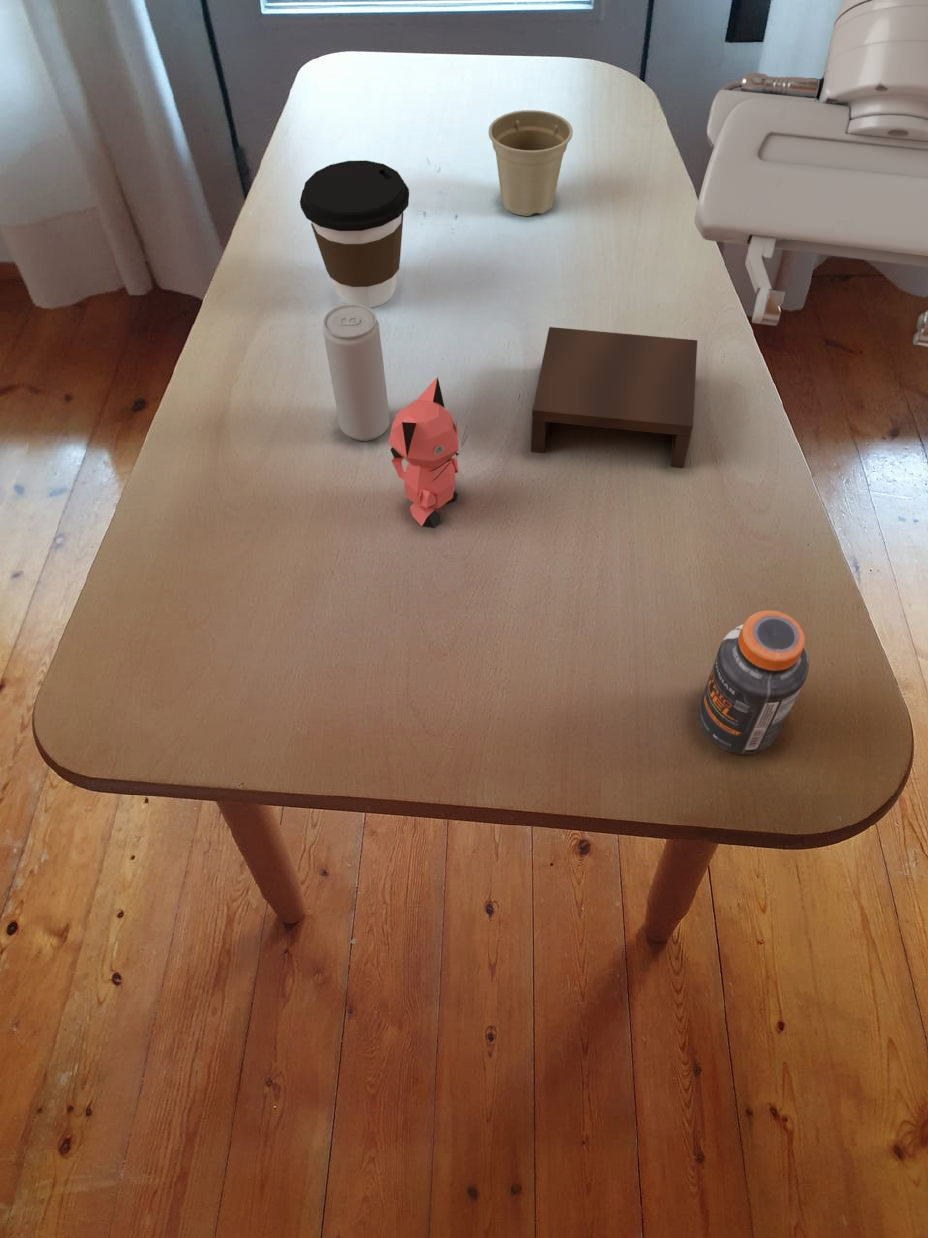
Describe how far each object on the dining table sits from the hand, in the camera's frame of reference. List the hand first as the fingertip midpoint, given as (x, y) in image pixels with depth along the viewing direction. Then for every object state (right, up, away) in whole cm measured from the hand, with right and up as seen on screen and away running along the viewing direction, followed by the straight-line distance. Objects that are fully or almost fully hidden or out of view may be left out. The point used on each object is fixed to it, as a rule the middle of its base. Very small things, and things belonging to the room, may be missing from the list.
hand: (845, 334), depth 56 cm
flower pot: (-15, +32, +56) cm, 67 cm away
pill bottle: (-3, -25, +14) cm, 28 cm away
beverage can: (-32, +1, +34) cm, 47 cm away
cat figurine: (-26, -7, +27) cm, 38 cm away
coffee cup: (-33, +18, +46) cm, 60 cm away
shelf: (-9, +2, +34) cm, 35 cm away
